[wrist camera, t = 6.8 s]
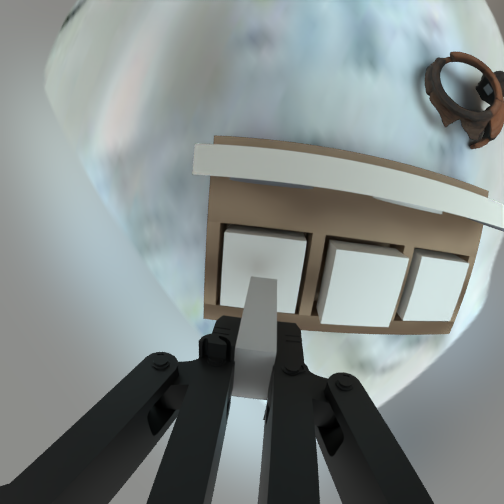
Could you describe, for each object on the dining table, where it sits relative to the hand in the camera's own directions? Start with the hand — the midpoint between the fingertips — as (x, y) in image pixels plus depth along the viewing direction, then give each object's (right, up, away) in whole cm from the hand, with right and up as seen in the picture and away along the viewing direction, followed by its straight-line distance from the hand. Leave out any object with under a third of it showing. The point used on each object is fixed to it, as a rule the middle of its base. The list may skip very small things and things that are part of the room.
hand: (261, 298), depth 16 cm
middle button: (+8, +1, +6) cm, 10 cm away
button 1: (0, +2, +7) cm, 8 cm away
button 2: (+16, 0, +7) cm, 18 cm away
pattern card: (+9, +8, +3) cm, 12 cm away
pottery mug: (+21, +18, +3) cm, 28 cm away
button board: (+9, +4, +8) cm, 13 cm away
